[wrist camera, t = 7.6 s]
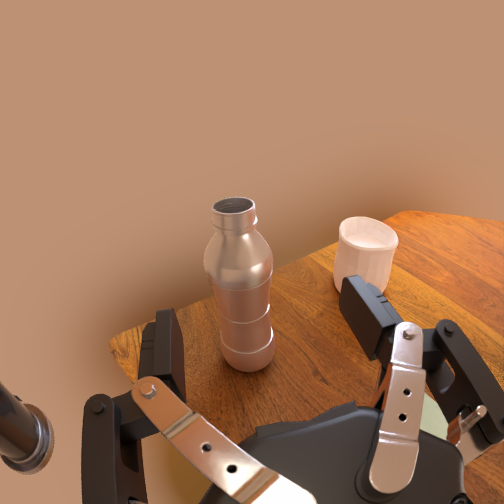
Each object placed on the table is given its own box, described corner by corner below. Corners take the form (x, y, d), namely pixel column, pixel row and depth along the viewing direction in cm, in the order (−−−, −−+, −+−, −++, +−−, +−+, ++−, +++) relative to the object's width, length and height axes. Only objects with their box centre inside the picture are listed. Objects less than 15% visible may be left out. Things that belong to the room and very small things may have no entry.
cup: (353, 311, 39) (365, 255, 34) (318, 275, 47) (322, 223, 42) (397, 291, 42) (411, 239, 36) (361, 260, 50) (369, 212, 44)
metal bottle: (240, 387, 30) (215, 232, 19) (213, 350, 35) (182, 203, 24) (286, 362, 33) (290, 207, 22) (256, 330, 38) (245, 186, 27)
